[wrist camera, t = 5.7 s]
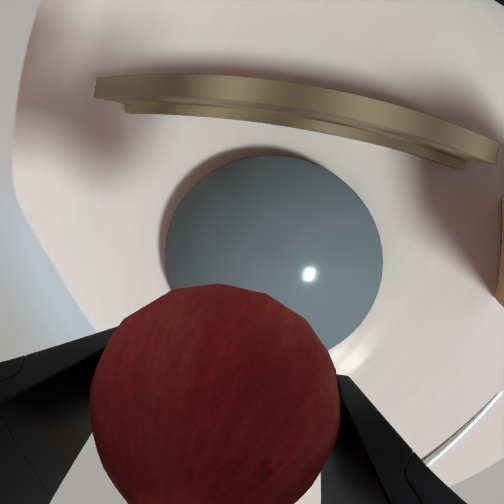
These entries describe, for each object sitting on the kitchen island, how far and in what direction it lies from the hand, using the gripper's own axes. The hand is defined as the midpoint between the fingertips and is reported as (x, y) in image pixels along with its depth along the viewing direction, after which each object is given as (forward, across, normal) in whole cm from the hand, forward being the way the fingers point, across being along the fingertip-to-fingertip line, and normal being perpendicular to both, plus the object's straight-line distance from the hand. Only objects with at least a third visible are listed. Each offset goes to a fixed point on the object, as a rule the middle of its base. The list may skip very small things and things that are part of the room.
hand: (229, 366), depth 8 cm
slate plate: (+12, 0, +1) cm, 12 cm away
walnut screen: (+12, 0, -9) cm, 15 cm away
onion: (+2, 0, 0) cm, 2 cm away
